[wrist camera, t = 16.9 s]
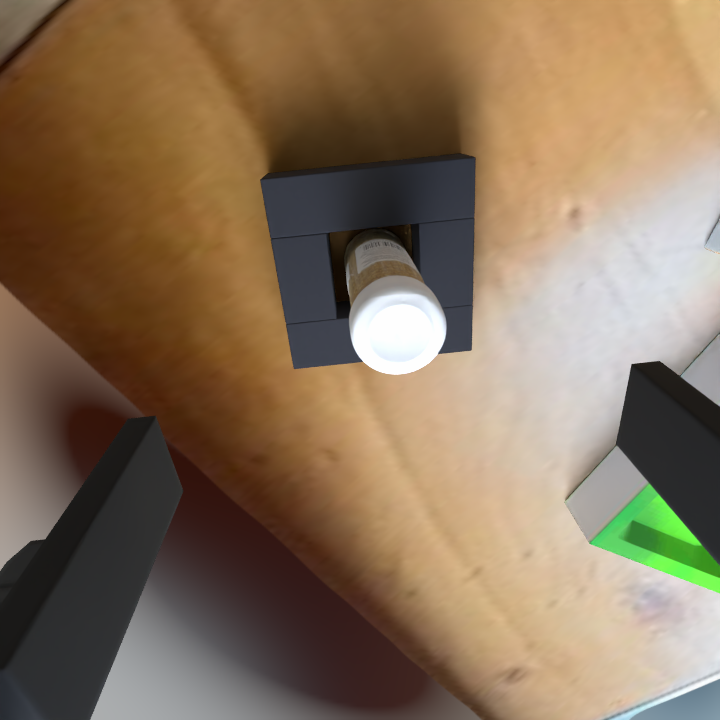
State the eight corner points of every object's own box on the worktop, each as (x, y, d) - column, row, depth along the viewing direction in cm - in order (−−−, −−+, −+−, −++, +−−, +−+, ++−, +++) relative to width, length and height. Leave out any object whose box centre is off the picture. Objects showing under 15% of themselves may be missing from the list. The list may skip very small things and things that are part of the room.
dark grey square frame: (267, 173, 31) (259, 179, 27) (461, 153, 31) (475, 156, 28) (297, 348, 36) (293, 369, 33) (460, 331, 36) (471, 350, 33)
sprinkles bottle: (335, 277, 34) (337, 362, 22) (356, 216, 32) (370, 273, 20) (393, 297, 35) (425, 388, 23) (417, 238, 33) (465, 305, 21)
